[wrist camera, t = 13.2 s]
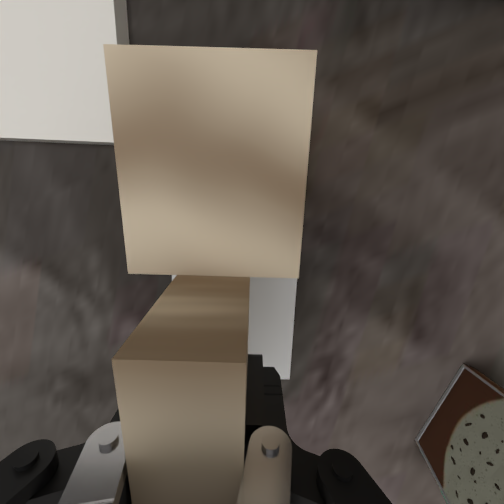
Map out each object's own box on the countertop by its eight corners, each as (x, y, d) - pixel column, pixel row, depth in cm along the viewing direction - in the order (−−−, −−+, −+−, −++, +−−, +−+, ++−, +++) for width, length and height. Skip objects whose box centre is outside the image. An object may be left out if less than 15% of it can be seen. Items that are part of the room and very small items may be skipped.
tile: (139, 146, 19) (127, -24, 17) (124, 143, 17) (109, -52, 15) (-25, 139, 19) (-63, -31, 17) (-58, 135, 17) (-107, -61, 15)
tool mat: (309, 91, 18) (310, 89, 18) (288, 376, 24) (289, 379, 24) (161, 88, 18) (159, 86, 18) (179, 372, 24) (178, 376, 24)
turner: (280, 471, 15) (296, 655, 9) (156, 467, 15) (95, 649, 9) (312, 60, 9) (402, -120, 4) (115, 55, 9) (-102, -134, 4)
